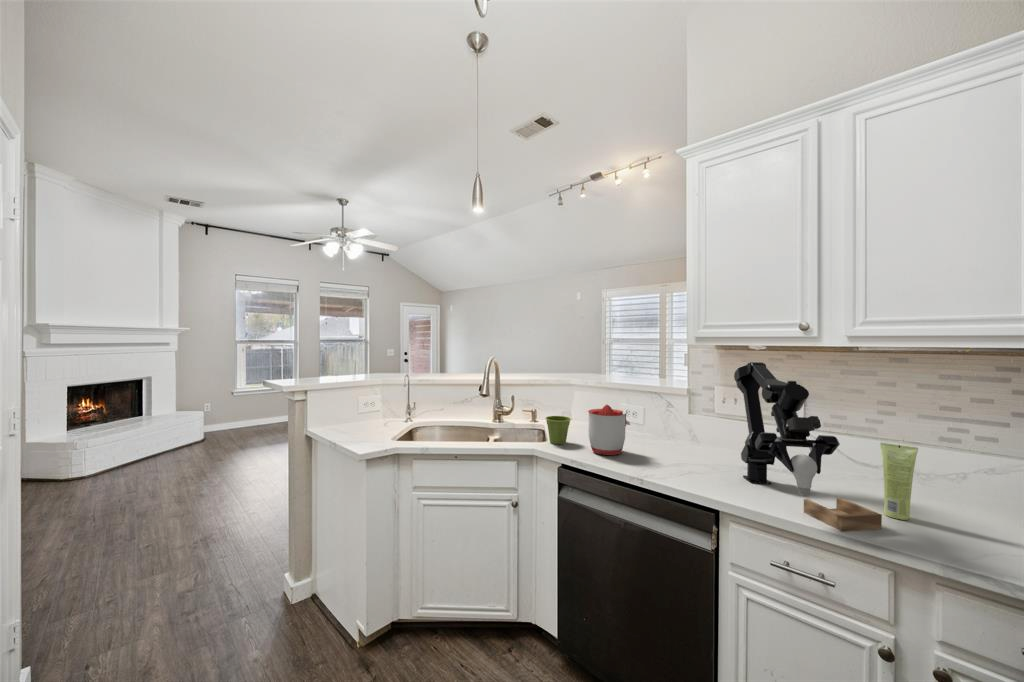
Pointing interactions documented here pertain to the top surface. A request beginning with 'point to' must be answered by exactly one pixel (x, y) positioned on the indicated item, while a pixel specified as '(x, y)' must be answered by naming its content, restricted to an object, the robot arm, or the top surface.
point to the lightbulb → (804, 473)
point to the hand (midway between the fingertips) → (805, 472)
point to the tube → (898, 478)
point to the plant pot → (558, 428)
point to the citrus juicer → (607, 430)
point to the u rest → (844, 515)
